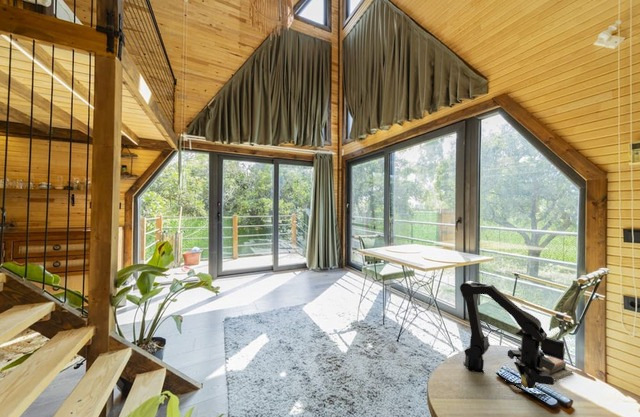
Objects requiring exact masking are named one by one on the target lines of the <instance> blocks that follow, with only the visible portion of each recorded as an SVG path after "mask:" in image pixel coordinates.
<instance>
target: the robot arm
mask: <svg viewBox="0 0 640 417" xmlns="http://www.w3.org/2000/svg"><path fill="white" fill-rule="evenodd" d="M459 290H460V293H461V296H462V298H463V299H464V301H465V303H466V309H467V315H468V322H469V327H470V332H471V334H470V340H469V341H470V342H469V343H470V344H469V346H468V347H466V349H464V355H465V357H464V358H465V360H464V361H463V364H464V365H465V367H466V368H467V370H468V371H469V372H477V373H485V370H484V365H485V364H484V362H485V360H484V357H483V356H484V355H485V354H486V353H487V351H488V350H489V347H490V346H491V344H490V343H489V336H485V335H484V333H483V329H482V324H481V318H480V312H479V307H478V296H479V295H487V296H489V297H490V298H491V299H492V300H493V301H495V303H496V304H498V305H499V306H500V307H501V308H502V309H504V310H505V311H506V312H507V313H508V314H510V316H512V317H513V319H514V321H515V322H516V324H517V325H518V326H519V328H520V329H517V331H516V332H515V335H516V336H520V337H521V341H520V346H519V347H518V349H517V350H516V349H509V350H508V351H507V357H508V358H509V359H510V360H514V359H515V361H514V362H513V364H514V365H515V367H516V369H517V371H518V373H519V374H520V376H522V374H523V375H525V378H526V381H527V385H528V388H533V386H534V385H535V383H536V384H540V385H547V386H548V385H549V386H555V380H554V379H553V378H552V377H551V376H550V375H549V374H548V373H547V372H546V371H541V370H539V369H537V368H541V369H543V367H544V368H546V369H549V370H550V371H552V370H553V368H554V366H555V363H553V362H552V361H551V360H549V359H548V358H546V356H547V357H553V358H557V359H560V360H562V361H563V362H565V355H566V348H565V341H563V340H559V339H555V338H552V337H549V336H548V334H547V333H546V330H544V329H543V327H542V322H541V320H540V319H538V318H537V317H536V316H534V315H532V314H531V313H530V312H527V311H525V310H524V309H521V308H520V307H519V306H518V305H517V304H515V303H514V302H513V301H512V300H510V299H509V298H508V297H507V296H506V295H504V294H503V293H502V292H501V291H500V290H499V289H497V288H496V286H495V285H493V284H491V283H489V284H485V283H480V282H475V281H473V280H467V281H465V282H464V283H461V285H460V286H459ZM540 343H541V344H540ZM545 355H546V356H545Z"/></svg>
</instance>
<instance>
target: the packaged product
mask: <svg viewBox="0 0 640 417" xmlns="http://www.w3.org/2000/svg"><path fill="white" fill-rule="evenodd" d="M545 357H546V356H545ZM546 358H548V359H549V360H551V361H552V362H553V363H555V366H554V368H553V370H552V371H550V370H549V369H546V368H544V367H543V369H541V368H537V369H539V370H541V371H546V372H547V373H548V374H549V375H550V376H551V377H552V378H553V379H555V380H557V379H560V378H563V377H566V376H569V375H570V374H572V373H573V370H572V369H570V368H568V367H566V362H565V361H563V360H560V359H557V358H554V357H551V356H547V357H546Z"/></svg>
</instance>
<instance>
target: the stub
mask: <svg viewBox="0 0 640 417" xmlns="http://www.w3.org/2000/svg"><path fill="white" fill-rule="evenodd" d="M521 384H522V385H523V386H524V387H525V388H526V387H528V385H527V381H526V378H525V375H523V374H522V376H521ZM521 384H520V385H521ZM514 385H515V384H509V388H510V387H511V388H510V389H511V391H512V392H513V393H519V392H520V391H522V390H521V389H519V388H517V387H516V386H517V385H516V386H514ZM533 388H536V386H535V385H534V386H533Z"/></svg>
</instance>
